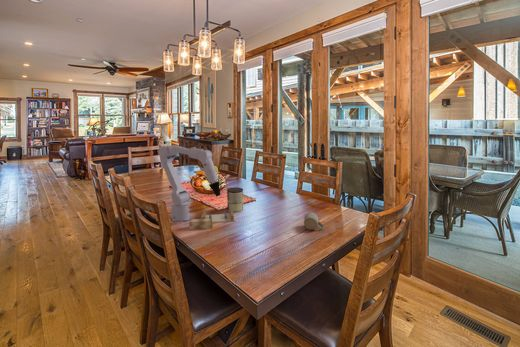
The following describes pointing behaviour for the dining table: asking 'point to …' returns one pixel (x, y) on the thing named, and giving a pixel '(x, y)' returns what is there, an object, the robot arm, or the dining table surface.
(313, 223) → the ceramic mug
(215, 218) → the peg plate
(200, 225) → the tan wooden block
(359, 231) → the dining table surface
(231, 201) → the coffee can
